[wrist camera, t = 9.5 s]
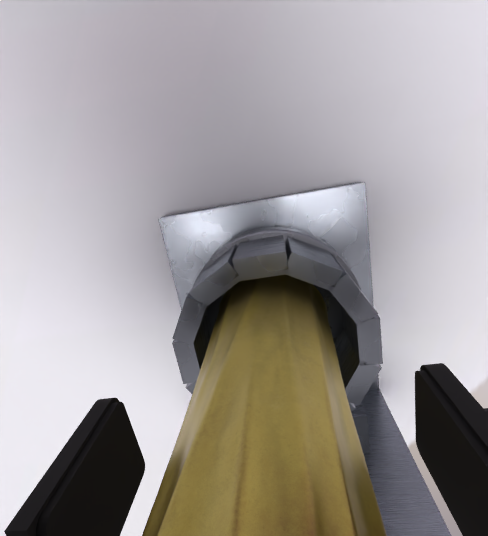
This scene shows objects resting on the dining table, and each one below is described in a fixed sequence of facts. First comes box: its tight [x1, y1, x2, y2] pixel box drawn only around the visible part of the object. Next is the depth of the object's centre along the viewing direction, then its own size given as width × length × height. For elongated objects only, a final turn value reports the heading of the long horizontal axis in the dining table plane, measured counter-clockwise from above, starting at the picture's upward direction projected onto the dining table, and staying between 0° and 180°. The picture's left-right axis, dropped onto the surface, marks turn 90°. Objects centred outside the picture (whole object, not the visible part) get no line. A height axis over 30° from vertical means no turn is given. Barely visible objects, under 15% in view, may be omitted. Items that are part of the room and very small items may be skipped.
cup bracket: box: [159, 182, 451, 536], centre depth 15 cm, size 15×12×12 cm
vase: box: [142, 275, 387, 536], centre depth 11 cm, size 6×6×14 cm
